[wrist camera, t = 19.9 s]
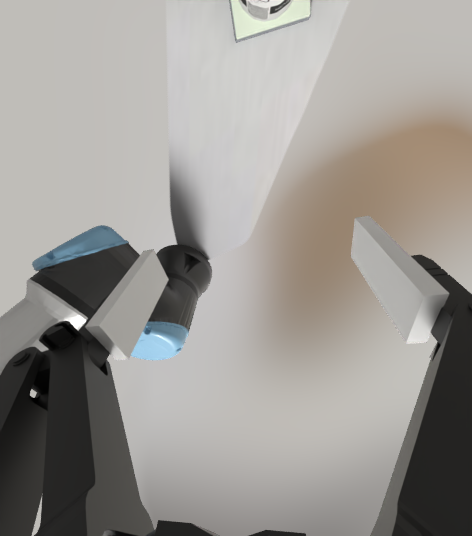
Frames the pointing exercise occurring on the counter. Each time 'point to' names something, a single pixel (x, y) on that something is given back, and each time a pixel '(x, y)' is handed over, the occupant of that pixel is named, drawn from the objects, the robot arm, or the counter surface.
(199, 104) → the counter surface
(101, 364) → the robot arm
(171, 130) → the counter surface
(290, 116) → the counter surface
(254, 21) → the panel
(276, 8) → the supplement can
